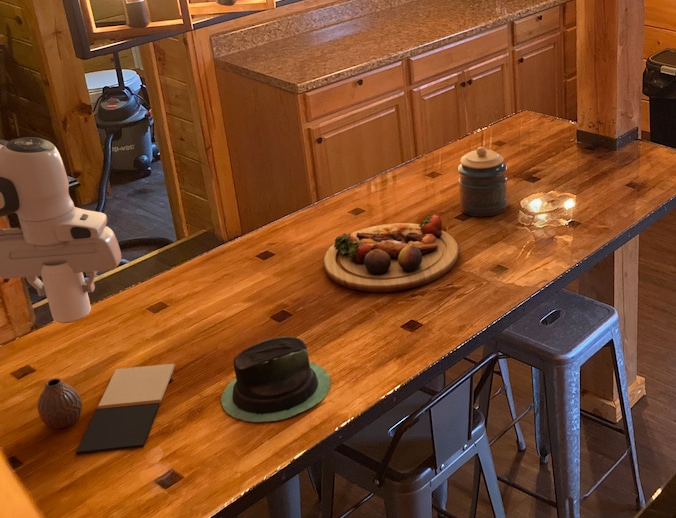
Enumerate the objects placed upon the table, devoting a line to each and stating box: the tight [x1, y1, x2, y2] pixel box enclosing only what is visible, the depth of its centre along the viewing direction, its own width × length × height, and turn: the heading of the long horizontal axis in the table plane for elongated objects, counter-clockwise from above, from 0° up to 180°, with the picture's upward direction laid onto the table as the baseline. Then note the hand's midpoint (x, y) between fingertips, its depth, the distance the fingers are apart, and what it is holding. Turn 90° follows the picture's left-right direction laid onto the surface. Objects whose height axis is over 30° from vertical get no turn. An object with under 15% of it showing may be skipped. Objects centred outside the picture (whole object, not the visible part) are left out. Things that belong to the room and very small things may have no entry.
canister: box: [457, 146, 509, 218], centre depth 254 cm, size 13×13×18 cm
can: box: [40, 262, 92, 324], centre depth 174 cm, size 6×6×12 cm
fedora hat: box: [220, 336, 332, 423], centre depth 181 cm, size 15×19×20 cm
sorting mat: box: [75, 363, 176, 455], centre depth 177 cm, size 11×25×1 cm, turn 10°
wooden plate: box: [322, 214, 460, 293], centre depth 228 cm, size 32×32×8 cm
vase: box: [37, 377, 83, 430], centre depth 172 cm, size 7×7×9 cm
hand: (67, 292), depth 175 cm, fingers closed on can, 6 cm apart
